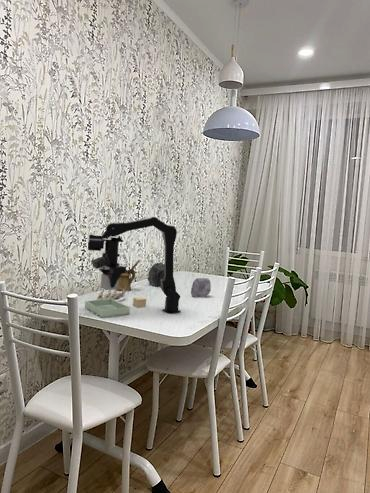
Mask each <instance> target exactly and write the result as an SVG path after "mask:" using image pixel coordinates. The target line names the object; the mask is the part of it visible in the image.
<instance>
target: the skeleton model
mask: <svg viewBox="0 0 370 493" xmlns="http://www.w3.org/2000/svg"><path fill="white" fill-rule="evenodd" d="M116 290H117V289H114V290H113V291H114V292H113V293H111V292H112V290H107V291H108V292H107V293H106V294H103V293H104V292H105V289H103V290H102V291H101V292H100V293H98V296H97V297H96V300H102V299H113V300H115V301H117V299H118V300H119V299H120V298H123V296H124V295H125V294H126V292H127V291H126V290H125V287H124V289H123V290H122V291H121V292H118V291H116ZM117 292H118V293H117Z"/></svg>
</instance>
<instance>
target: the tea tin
mask: <svg viewBox="0 0 370 493" xmlns="http://www.w3.org/2000/svg"><path fill="white" fill-rule="evenodd" d="M100 279H101V280H100V281H101V282H100V289H103V290H104V291H109V290H111V291H112V290H113V291H114V289H118V281H117V282H116V284H115V286H114V287H113V288H112V287H111V277H110V275H109V274H103V273H101V278H100Z"/></svg>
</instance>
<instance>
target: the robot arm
mask: <svg viewBox="0 0 370 493" xmlns="http://www.w3.org/2000/svg"><path fill="white" fill-rule="evenodd" d="M148 227H149V228H150V227H154V228H156V229H157V230H158V231H159V232H161V234H162V240H163V245H164V263H163V264H164V278H163V279H160V281H161V285H159V288H160V289H161V291H162V292H163V294H164V295H165V300H164V301H165V302H164V308H162V311H164V312H166V313H168V314H175V313H181V312H182V310H180V309H179V308H180V306H179V305H180V304H179V303H180V299H181V294H179V293H178V291H177V287H176V282H175V278H174V254H175V252H174V251H175V250H174V248H175V247H174V246H175V242H176V239H177V233H178V232H177V231H178V230H177V228H176V227H175V226H173V225H169V224H166V223H165V222H163V221H162V220H160V219H159V218H158V217H156V216H151V217H148V218H143V219H138V220H133V221H128V222H111V223H108V224H107V225H106V228H105V231H104V233H102V235H96V234H95V235H94V234H89V235H88V242H87V250H88V251H95V252H96V251H99V252H102V250H103V249H104V252H103V253H102V256H101V257H100V256H99V257H97V258H95V259H92V260H91V264H92V268H94V269H96V270H99V271H100V272H101V274H109V275H110V277H111V287H112V288H113V287H114V286H115V284H116V282H117V281H118V279H119V277H120V276H121V274H123V273H126V270H127V268H126V267H125V266H123V265H120V262H119V263H118V261H119V260H118V258H119V257H120V253H119V245H120V244H119V243H123V242H124V240H123V239H122V238H121V236H120V235H121V234H124V233H127V232H129V231H133V230H139V229H145V228H148ZM117 236H118V237H117ZM110 237H111V238H110ZM108 238H110V239H108Z"/></svg>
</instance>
